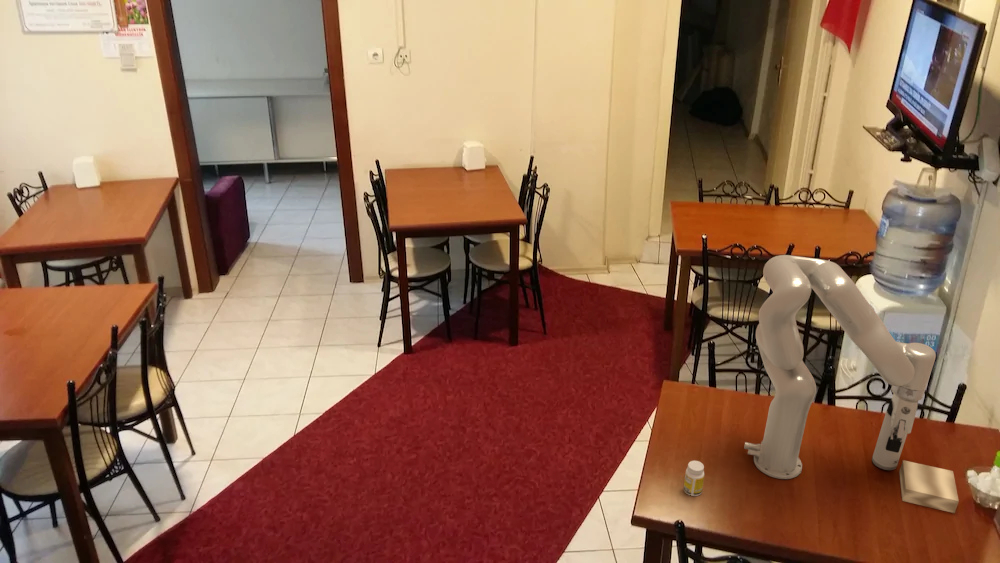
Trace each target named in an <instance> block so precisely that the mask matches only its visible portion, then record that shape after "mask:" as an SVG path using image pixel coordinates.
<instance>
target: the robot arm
mask: <svg viewBox="0 0 1000 563" xmlns="http://www.w3.org/2000/svg"><path fill="white" fill-rule="evenodd" d="M762 272H763V273H762V275H763V278H764V281H765V282H766V284H767V285H768V287H769V288H770V289H771V291H772V294H770V295H769V296H768V298H767V299H766V300H765V301H764V302H763V303H762V304H761V306H760V309H759V311H758V322H759V323H758V324H757V326H756V329H755V339H756V343H757V347H758V351H759V354H760V357H761V361H762V362H763V363H762V364H763V366H764V369H765V371H766V374H767V375H768V377H769V379H770V381H771V383H772V385H773V387H774V390H775V395H774V397H773V399H772V400H771V402H770V405H769V408H768V414H767V419H766V424H765V429H764V434H763V439H762V440H761V441H760V443H752V442H747V441H744V446H743V447H744V450H748V451H747V455H751V456H753V463H754V465H755V466H756V468H757V469H758V470H759V471H760V472H762V473H763V474H765V475H767V476H769V477H771V478H775V479H778V480H779V479H780V480H790V479H793V478H796V477H798V476H799V475H800V474H801V473H802V469H803V462H802V461H801V459H800V457H799V455H800V449H801V445H802V440H803V437H804V436H803V435H804V433H805V432H804V431H805V427H806V424H807V420H808V414H809V411H810V408H811V406H812V403H813V401H814V399H815V396H816V394H817V385H816V381H815V379H814V377H813V375H812V373H811V372H810V370H809V368H808V367H807V365H806V364H805V362H804V361H803V358H804V352H805V351H804V344H803V341H802V339H801V336H800V333H799V329H798V328H799V327H798V325H797V320H796V315H797V313H798V312H799V311H800V310H801V309H802V307H804V306H805V305H806V303H807V302H808V301H809V299H810V298H811V297H810V296H811V293H812V290H813V291H814V293H815V294H816V296H817V297H818V298H819V300H820V301H821V302H822V303H823V305H824V306H825V307H826V309H827V310H828V312H829V313H830V315H832V316H833V318H834V319H835V321H836V322H837V323H838V325H840V327H841V329H842V330H843V331H844V333H845V334H846V335H847V336H848V337H849V339H850V340H851V342H853V343H854V345H855V346H856V347H857V348H858V349H859V350H860V351H861V352H862V353H863V354H864V355H865V357H866V358H867V359H868V361H869V362H870V364H871V365H872V366H873V367H874V369H875V370H876V371H877V373H878V374H879V375H880V376H881V378H882V380H884V381H885V383H887V384H888V385H890V386H891V388H890V391H891V392H892V393H893V394H892V398H891V400H892V407H893V411H892V415H891V421H890V428H891V429H892V432H891V436H890V437H889V438H888V442H887V445H886V450H888V451H892V452H896V453H898V452H899V450H900V447H901V444H902V440H903V435H904V430H905V431H906V433H907V435H909V434H911V433H912V429H913V425H914V421H915V419H916V414H917V410H918V406H919V401H921V400H923V398H924V395H925V392H926V388H927V386H928V383H929V380H930V376H931V374H932V370H933V367H934V364H935V360H936V357H937V354H936V350H934V349H933V348H932V347H931V346H929V345H927V344H924V343H921V342H910V343H907V342H901V341H896V340H895V338H894V337H893V336H892V334H891V333H890V331H889V330H888V328H887V327H886V325H885V323H884V322H883V320H882V319H881V318H880V316H879V315H878V313H877V312H876V311H875V309H873V307H872V305H871V304H870V303H869V301H868V300H867V298H866V297H865V296H864V295H863V292H862V291H860V289H859V288H858V286H857V285H856V283H855V282H854V280H853V279H852V278H850V276H849V275H848V274H847V273H846V271H844V270H843V269H842V267H841V266H840V265H839V264H837V263H836V262H834V261H830V260H827V259H820V258H812V257H807V256H806V257H805V256H799V255H790V254H783V255H776V256H773V257H772V258H769V260H768V261H767V262H766V263H764V266H763V271H762ZM896 426H898V429H896V428H895V427H896ZM895 431H897V435H896V434H895V435H894V432H895Z"/></svg>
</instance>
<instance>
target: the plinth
mask: <svg viewBox="0 0 1000 563" xmlns="http://www.w3.org/2000/svg"><path fill="white" fill-rule="evenodd" d="M898 471H899V481H900V489H901V490H900V492H901V500H902V502H905V503H909V504H915V505H918V506H923V507H926V508H931V509H935V510H940V511H944V512H948V513H952V514H955V513H956V511H957V507H958V505H959V502H960V501H959V500H960V499H959V495H958V490H957V489H958V488H957V485H956V479H955V475H954V471H953V470H950V469H945V468H940V467H936V466H932V465H931V466H930V465H928V464H927V465H926V464H923V463H917V462H913V461H909V460H905V459H904V460H903V459H902V462H901V465H900V468H899V470H898Z"/></svg>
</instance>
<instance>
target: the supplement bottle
mask: <svg viewBox="0 0 1000 563" xmlns="http://www.w3.org/2000/svg"><path fill="white" fill-rule="evenodd" d="M704 468H705V466H704V464H703V463H702V462H701V461H700V460H690V461H689V462H688V464H687V467H686V469H685V475H684V482H683V483H684V484H683V491H684V493H686V494H687V495H688V496H690V495H691V496H692V497H698V496H700V495H701V494H702V493H703V487H704V481H705V469H704Z"/></svg>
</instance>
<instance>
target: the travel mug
mask: <svg viewBox="0 0 1000 563" xmlns="http://www.w3.org/2000/svg"><path fill="white" fill-rule="evenodd" d="M892 411H893V407H892V399H890V401H889V402H888V405H887V408H886V411H885V414H884V419H883V420H882V425H881V428H880V431H879V435H878V437H877V441H876V444H875V448H874V451H873V454H872V457H871V461H872V463H873V464H874V465H875V466H876V467H878V468H879V469H882V470H885V471H893V470H896V469H897V467H898V465H899V461H900V457H901V455H902V451H903V448H904V445H905V442H906V439H907V437H908V433H906V431H905V430H904V435H903V440H902V444H901V447H900V450H899V452H898V453H896V452H892V451H888V450H886V445H887V442H888V438H889V437H890V436H891V432H892V429H891V428H890V421H891V415H892ZM895 428H896V429H898V426H896V427H895ZM895 434H896V435H897V431H895V432H894V435H895Z"/></svg>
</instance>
